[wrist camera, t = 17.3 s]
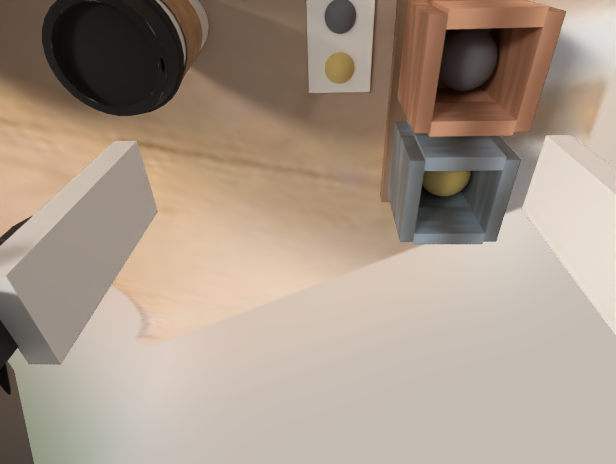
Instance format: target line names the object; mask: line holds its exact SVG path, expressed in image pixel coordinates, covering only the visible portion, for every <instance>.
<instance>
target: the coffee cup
mask: <svg viewBox="0 0 616 464" xmlns="http://www.w3.org/2000/svg"><path fill="white" fill-rule="evenodd" d="M208 32H209V24H208V18H207V15H206V12H205V10H204V8H203V6H202V4H201V3H200V1H199V0H57V1H56V2H55V3H54V4H53V5H52V6H51V7H50V9H49V11H48V13H47V14H46V16H45V19H44V23H43V28H42V42H43V48H44V53H45V55H46V58H47V61H48V63H49V65H50V67H51V69H52V71H53V72H54V74H55V76H56V77H57V78H58V80H59V81H60V82H61V83H62V85H63V86H64V87H65V88H66V89H67V90H68V91H69V92H70V93H71V94H72V95H73V96H75V97H76V98H77V99H79V100H80V101H82V102H83V103H84V104H86V105H88V106H90V107H92V108H94V109H96V110H99V111H102V112H104V113H107V114H112V115H117V116H132V115H138V114H143V113H147V112H151V111H154V110H156V109H158V108H160V107H162V106H163V105H165V104H166V103H167V102H168V101H170V100H171V99H172V98H173V96H174V95H175V93H176V92H177V91H178V88H179V86H180V84H181V81H182V79H183V77H184V76H185V74H186V72H187V71H188V69H189V68H190V66H191V64H192V63H193V61H194V60H195V58H196V57H197V55H198V53H199V51H200V50H201V49H202V47H203V46H204V44H205V42H206V40H207V37H208Z"/></svg>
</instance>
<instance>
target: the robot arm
mask: <svg viewBox="0 0 616 464" xmlns="http://www.w3.org/2000/svg"><path fill="white" fill-rule="evenodd" d="M522 211H523V212H524V214H525V215H526V216H527V218H528V219H529V220H530V221H531V223H532V224H533V226H534V227H535V228H536V230H537V231H538V232H539V234H540V235H541V236H542V238H543V239H544V240H545V242H546V243H547V244H548V245H549V247H550V248H551V250H552V251H553V252H554V254H555V255H556V256H557V258H558V259H559V260H560V262H561V263H562V264H563V266H564V267H565V268H566V270H567V271H568V272H569V274H570V275H571V276H572V278H573V279H574V280H575V282H576V283H577V284H578V285H579V287H580V288H581V290H582V291H583V292H584V294H585V295H586V296H587V298H588V299H589V300H590V302H591V303H592V304H593V306H594V307H595V308H596V310H597V311H598V312H599V314H600V315H601V316H602V318H603V319H604V320H605V322H606V323H607V324H608V326H609V327H610V328H611V330H612V331H613V332H614V334H615V335H616V169H615V168H614V167H613V166H611V165H610V164H609V163H607V162H606V161H605V160H603V159H602V158H601V157H599V156H598V155H597V154H596V153H594V152H593V151H591V150H590V149H589V148H588V147H586V146H585V145H584V144H582V143H581V142H580V141H578V140H577V139H576V138H575V137H573V136H572V135H546V137H545V140H544V144H543V147H542V150H541V153H540V156H539V159H538V162H537V165H536V168H535V171H534V174H533V177H532V180H531V183H530V186H529V189H528V192H527V195H526V198H525V201H524V204H523V207H522ZM157 212H158V211H157V208H156V205H155V201H154V198H153V194H152V191H151V187H150V184H149V180H148V177H147V174H146V170H145V167H144V163H143V160H142V156H141V153H140V150H139V146H138V143H137V141H114V142H113V143H112V144H111V145H109V146H108V147H107V148H106V149H105V150H104V151H103V152H102V153H101V154H100V155H99V156H97V157H96V158H95V159H94V160H93V161H92V162H91V163H90V164H89V165H88V166H87V167H86V168H84V169H83V170H82V171H81V172H80V173H79V174H78V175H77V176H76V177H75V178H74V179H72V180H71V181H70V182H69V183H68V184H67V185H66V186H65V187H64V188H63V189H62V190H61V191H59V192H58V193H57V194H56V195H55V196H54V197H53V198H52V199H51V200H50V201H49V202H47V203H46V204H45V205H44V206H43V207H42V208H41V209H40V210H39V211H38V212H37V213H36V214H34V215H33V216H31V217H29V218H27V219H25V220H24V221H22V222H20V223H18V224H16V225H15V226H13V227H12V228H11V229H9V230H8V231H7V232H6V233H5V234H4V235H3V236H2V237H1V238H0V464H34V462H33V457H32V452H31V448H30V443H29V439H28V434H27V429H26V424H25V420H24V415H23V410H22V406H21V401H20V396H19V392H18V387H17V382H16V378H15V373H14V370H13V369H12V367H11V365H10V364H9V363H8V359H9V358H10V357H11V356H12V354H13V353H14V352H15V350H16V349H17V348H18V349H19V350H20V352H21V353H22V354H23V356H24V357H25V359H26V360H27V362H28V363H29V364H61V363H62V361H63V360H64V359H65V357H66V355H67V354H68V352H69V351H70V349H71V348H72V346H73V344H74V343H75V341H76V340H77V338H78V336H79V335H80V333H81V332H82V330H83V329H84V327H85V325H86V324H87V322H88V321H89V319H90V318H91V316H92V314H93V313H94V311H95V310H96V308H97V306H98V305H99V303H100V302H101V300H102V298H103V297H104V295H105V294H106V292H107V291H108V289H109V287H110V286H111V284H112V283H113V281H114V280H115V278H116V276H117V275H118V273H119V272H120V270H121V269H122V267H123V265H124V264H125V262H126V261H127V259H128V258H129V256H130V254H131V253H132V251H133V250H134V248H135V246H136V245H137V243H138V242H139V240H140V239H141V237H142V235H143V234H144V232H145V231H146V229H147V228H148V226H149V224H150V223H151V221H152V220H153V218H154V216H155V215H156V213H157Z"/></svg>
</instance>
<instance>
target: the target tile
mask: <svg viewBox="0 0 616 464" xmlns="http://www.w3.org/2000/svg"><path fill="white" fill-rule="evenodd" d="M306 5H307V43H308V80H309V93H338V92H370V77H371V60H372V43H373V27H374V10H375V0H306Z"/></svg>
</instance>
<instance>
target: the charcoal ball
mask: <svg viewBox="0 0 616 464" xmlns="http://www.w3.org/2000/svg"><path fill="white" fill-rule="evenodd" d="M497 59H498V50H497V46H496V43H495V41H494V39H493V38H492V36H491V35H490V34H489V33H487V32H486V31H484V30H482V29H459V30H457V31H454V32H453V33H451V34H450V35H449V36H447V37H446V38H445V40H444V46H443V52H442V59H441V65H440V72H439V80H440V81H441V82H442V83H443V84H444V85H445V86H446V87H448V88H450V89H453V90H456V91H467V90H471V89H474V88H476V87H478V86H480V85H481V84H483V83H484V82H485V81H486V80H487V79H488V78H489V77H490V76H491V74H492V73H493V71H494V69H495V67H496V64H497Z"/></svg>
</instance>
